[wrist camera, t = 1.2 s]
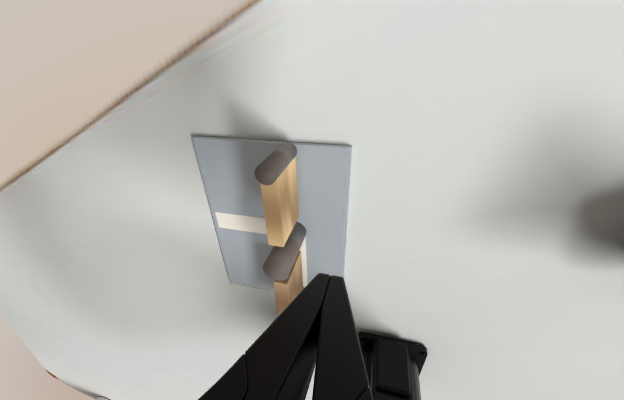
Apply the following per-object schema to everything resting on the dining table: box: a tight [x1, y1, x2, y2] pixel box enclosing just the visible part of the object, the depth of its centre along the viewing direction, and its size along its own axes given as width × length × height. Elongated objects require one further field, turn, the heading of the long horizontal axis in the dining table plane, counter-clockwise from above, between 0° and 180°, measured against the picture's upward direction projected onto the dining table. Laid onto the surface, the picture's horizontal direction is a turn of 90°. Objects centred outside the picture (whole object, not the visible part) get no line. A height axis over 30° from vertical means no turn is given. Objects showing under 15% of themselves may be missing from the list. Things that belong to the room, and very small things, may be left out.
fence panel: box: [255, 141, 299, 247], centre depth 16 cm, size 6×1×4 cm, turn 1°
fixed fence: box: [263, 222, 306, 316], centre depth 20 cm, size 8×2×5 cm, turn 1°
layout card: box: [192, 136, 352, 291], centre depth 21 cm, size 15×11×1 cm
